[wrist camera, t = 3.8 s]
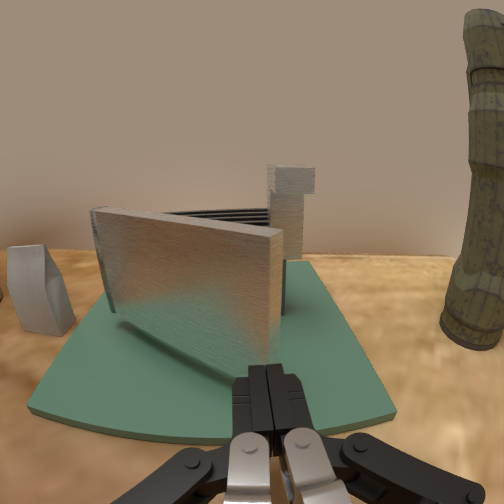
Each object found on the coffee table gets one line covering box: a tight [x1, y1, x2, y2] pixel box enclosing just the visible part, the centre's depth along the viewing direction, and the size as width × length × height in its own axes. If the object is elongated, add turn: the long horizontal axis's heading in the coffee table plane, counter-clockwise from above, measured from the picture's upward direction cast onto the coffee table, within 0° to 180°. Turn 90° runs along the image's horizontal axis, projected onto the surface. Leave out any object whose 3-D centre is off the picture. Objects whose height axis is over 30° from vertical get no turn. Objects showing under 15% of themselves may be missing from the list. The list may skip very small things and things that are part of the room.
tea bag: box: [7, 245, 76, 337], centre depth 24 cm, size 4×7×10 cm, turn 93°
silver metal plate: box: [90, 206, 283, 377], centre depth 19 cm, size 18×2×10 cm, turn 59°
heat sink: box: [26, 164, 397, 445], centre depth 25 cm, size 28×28×16 cm
